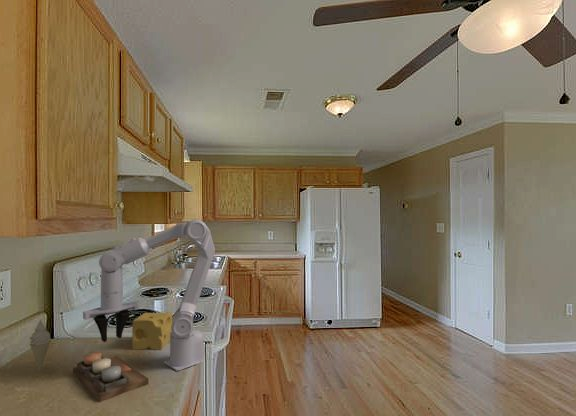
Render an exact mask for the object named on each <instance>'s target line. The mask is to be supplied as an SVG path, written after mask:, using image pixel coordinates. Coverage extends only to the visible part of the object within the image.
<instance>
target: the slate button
mask: <svg viewBox="0 0 576 416" xmlns="http://www.w3.org/2000/svg"><path fill="white" fill-rule="evenodd" d="M120 377H121V367H119V366H111V367H107V368H105V369H103V370H102V380H103V381H114V380H116V379H118V378H120Z"/></svg>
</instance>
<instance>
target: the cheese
mask: <svg viewBox="0 0 576 416" xmlns="http://www.w3.org/2000/svg"><path fill="white" fill-rule="evenodd" d="M172 317H173V313H172V311H171V312H170V311H169V312H168V311H167V312H144V313H142V314H141V315H139V316H138V317H137V318H136V319H133V320H132V325H131V326H132V335H131V336H132V337H131V338H132V350H147V349H150V350H158V351H160V350H161V351H162V350H163V349H164V347H165V346H166V345H167V344H168V343H170V333H171V332H172V330H171V325H172Z"/></svg>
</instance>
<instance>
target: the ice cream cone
mask: <svg viewBox="0 0 576 416" xmlns="http://www.w3.org/2000/svg"><path fill="white" fill-rule="evenodd" d="M29 339H30V341H29V342H30V343H29V346H30V348H31V351H32V354H33V357H34V360H35V362H36V365H37V369H38V371H39V372H41V371H42V368H43V365H44V363H45V359H46V356H47V352H48V350H49V346H50V343H51V342H52V341H51V334H50V332H49V331H48V330H47V326H45V325H44V322H43V321H42V319H41V318H40V319H39V321H38V323H37V325H36V327H35V328H34V332H33V333H32V334H31V336H30V337H29Z"/></svg>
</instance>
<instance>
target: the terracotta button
mask: <svg viewBox="0 0 576 416" xmlns="http://www.w3.org/2000/svg"><path fill="white" fill-rule="evenodd" d="M102 357H103V355H102V352H101V351H92V352H88V353H86V354H84V356H83V361H84V364H85V365H93V362H94V361H96V360H99V359H102Z"/></svg>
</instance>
